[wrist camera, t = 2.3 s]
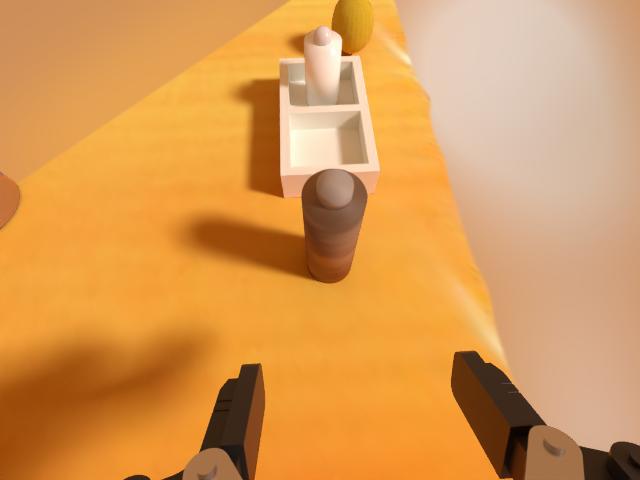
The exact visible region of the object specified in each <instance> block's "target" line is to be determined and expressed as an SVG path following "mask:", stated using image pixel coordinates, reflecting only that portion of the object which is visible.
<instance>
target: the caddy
mask: <svg viewBox="0 0 640 480" xmlns="http://www.w3.org/2000/svg"><path fill="white" fill-rule="evenodd" d="M325 169H342V170H346V171H348V172H351V173H353V174H354V175H356V176H357V177H358V178H359V179H360V180H361V181H362V182H363V184H364V186H365V188H366V190H367V194H374V192H375V188H376V184H377V180H378V177H379V173H380V168H379V162H378V157H377V151H376V145H375V140H374V134H373V128H372V123H371V117H370V112H369V106H368V100H367V95H366V89H365V83H364V78H363V72H362V67H361V61H360V56H341V64H340V79H339V93H338V104H337V105H329V106H308V105H307V103H306V87H305V61H304V58H284V59H280V176H281V181H282V187H283V193H284V198H295V197H301V194H302V189H303V186H304V184H305V182H306V181H307V180H308V179H309V178H310V177H311V176H312V175H313V174H315V173H317V172H319V171H322V170H325Z"/></svg>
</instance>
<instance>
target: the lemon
mask: <svg viewBox="0 0 640 480" xmlns="http://www.w3.org/2000/svg"><path fill="white" fill-rule="evenodd" d="M373 21H374V20H373V9H372V5H371V3H370V1H369V0H339V1H338V3H337V5H336V7H335V10H334V14H333V19H332V31H335V32H336V33H338V34H339V35H340V36H341V38H342V49H341V50H342V51H344V52H346V53H348V54H349V55H351V54H352V53H356V52H359V51H360V50H362V49H363V48H364V47H365V46H366V45H367V43H368V42H369V40H370V37H371V34H372V30H373Z"/></svg>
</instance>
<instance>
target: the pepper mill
mask: <svg viewBox="0 0 640 480" xmlns="http://www.w3.org/2000/svg"><path fill="white" fill-rule="evenodd" d="M301 197H302V209H303V220H304V231H305V242H306V254H307V265H308V269H309V272H310V273H311V275H312V276H313V277H314V278H315V279H317V280H318V281H320V282H323V283H336V282H339V281H341V280H342V279H344V278H345V277H346V276H347V275H348V273H349V271H350V268H351V264H352V260H353V256H354V252H355V248H356V244H357V240H358V236H359V232H360V228H361V224H362V220H363V216H364V211H365V207H366V203H367V190H366V188H365V186H364V184H363V182H362V181H361V180H360V179H359V178H358V177H357V176H356V175H354V174H353V173H351V172H348V171H346V170H342V169H325V170H322V171H319V172H317V173H315V174H313V175H312V176H311V177H310V178H309V179H308V180H307V181H306V182H305V184H304V186H303V189H302V194H301Z"/></svg>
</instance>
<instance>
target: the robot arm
mask: <svg viewBox="0 0 640 480" xmlns="http://www.w3.org/2000/svg"><path fill="white" fill-rule="evenodd" d="M19 199H20V198H19V189H18V186H17V185H16V184H15V182H14V181H13V180H11V179H10V178H8V177H7V176H6V175H4V174H3V173H1V172H0V228H1V227H2V226H3V225H4V224H5V223H7V222H8V220H9V219H10V218H11V216H12V215H13V214H14V212H15V210H16V208H17V206H18V202H19ZM451 388H452V392H453V395H454V397H455V399H456V401H457V403H458V405H459V406H460V408H461V410H462V412H463V414H464V415H465V417H466V419H467V421H468V423H469V424H470V426H471V428H472V430H473V432H474V433H475V435H476V437H477V439H478V441H479V442H480V444H481V446H482V448H483V449H484V451H485V453H486V455H487V457H488V458H489V460H490V462H491V464H492V466H493V467H494V469H495V471H496V473H497V475H498V476H499V478H500V479H505V478H513V480H640V446H639V445H636V444H633V443H629V442H616V443H614V444H613V445H612V446H611V449H610V451H609V452H604V451H600V450H595V449H590V448H585V447H581V446H578V445H577V444H576V442H575V441H574V440H573V439H571V438H570V437H569V436H568V435H567V434H565V433H564V432H562V431H560V430H558V429H556V428H553V427H550V426H547V425H546V424H545V422H544V421H543V420H542V419H541V417H540V416H539V415H538V414H537V413H536V411H535V410H534V409H533V408H532V406H531V405H530V404H529V403H528V402H527V400H526V399H525V398H524V397H523V396H522V394H521V393H519V391H518V389H517V388H516V387H515V386H514V385H513V384H512V382H511V381H510V380H509V378H508V377H507V376H506V375H505V374H504V372H503V371H501V370H500V369H498V368H497V367H496V366H494V365H493V364H491V363H485V362H484V361H483V360H482V358H481V357H480V356H479V354H478V353H477V352H476V351H461V352H455V354H454V360H453V368H452V377H451ZM264 410H265V390H264V382H263V374H262V366H261V364H260V363H259V364H243V365H242V366H241V370H240V374H239V377H238V378H236V379H228V380H227V382H226V383H225V384H224V385H223V386H222V388H221V389H220V391H219V394H218V397H217V401H216V404H215V407H214V410H213V413H212V416H211V419H210V422H209V425H208V428H207V431H206V434H205V437H204V440H203V443H202V446H201V449H200V451H199V453H198V454H197V455H195V456H194V457H193V458H192V459H191V460H190V461H189V463H188V464H187V466H186V468H185V469H184V470H183V471H181V472H179V473H177V474H175V475H173V476H170V477H168V478H165V479H162V480H254V479H255V472H256V465H257V458H258V451H259V444H260V437H261V431H262V424H263V417H264ZM124 480H150V478H148V477H147V476H144V475H134V476H131V477H128V478H126V479H124Z"/></svg>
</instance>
